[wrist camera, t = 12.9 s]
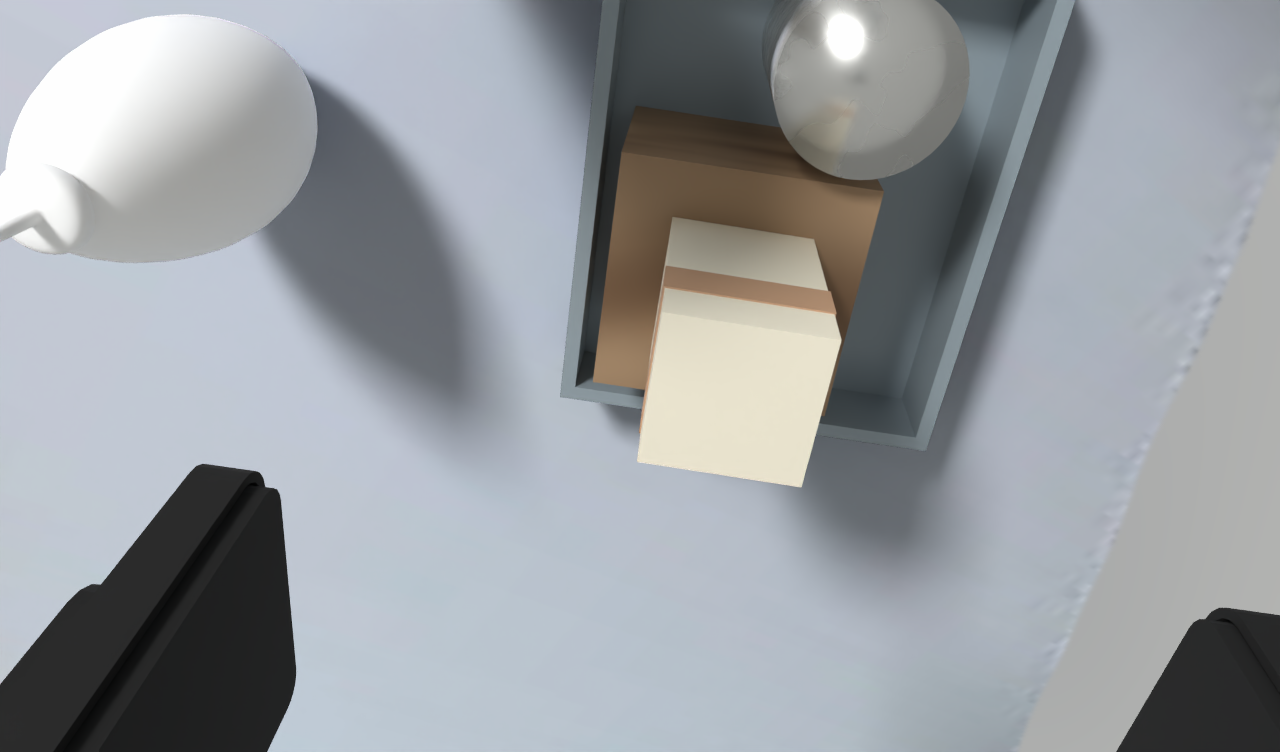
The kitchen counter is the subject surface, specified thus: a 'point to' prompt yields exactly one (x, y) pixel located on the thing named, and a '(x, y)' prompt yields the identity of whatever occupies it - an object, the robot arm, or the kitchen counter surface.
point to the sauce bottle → (159, 143)
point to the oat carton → (738, 354)
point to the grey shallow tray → (913, 199)
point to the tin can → (865, 81)
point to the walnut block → (718, 219)
